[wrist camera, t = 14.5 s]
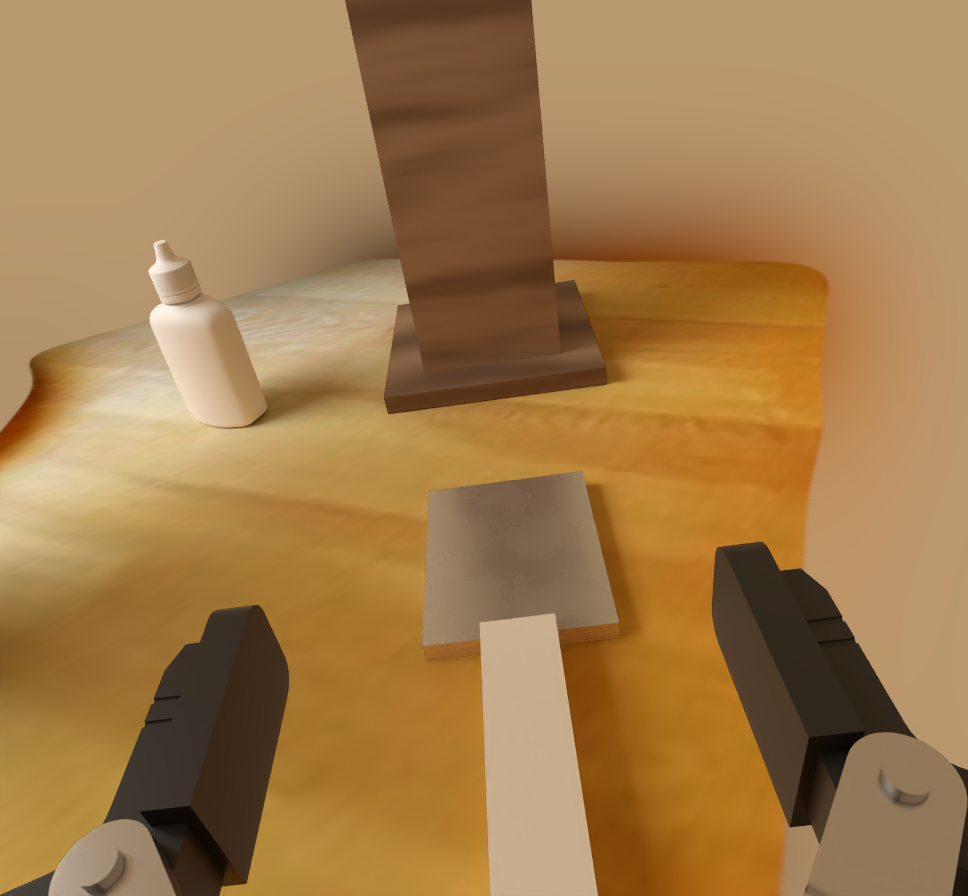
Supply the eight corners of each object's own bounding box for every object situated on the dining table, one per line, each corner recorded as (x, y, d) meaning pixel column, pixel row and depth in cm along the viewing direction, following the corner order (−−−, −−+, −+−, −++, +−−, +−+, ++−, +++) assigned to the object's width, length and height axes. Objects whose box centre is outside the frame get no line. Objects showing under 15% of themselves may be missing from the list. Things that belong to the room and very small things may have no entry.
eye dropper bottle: (246, 386, 51) (182, 222, 44) (275, 416, 47) (210, 240, 40) (187, 411, 49) (111, 244, 42) (212, 444, 45) (133, 265, 38)
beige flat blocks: (756, 1205, 16) (763, 1187, 15) (405, 1232, 16) (387, 1217, 15) (583, 486, 37) (580, 455, 36) (432, 506, 38) (425, 476, 36)
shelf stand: (612, 400, 43) (583, -378, 25) (385, 431, 44) (192, -303, 25) (572, 284, 58) (534, -258, 39) (402, 308, 59) (287, -213, 40)
